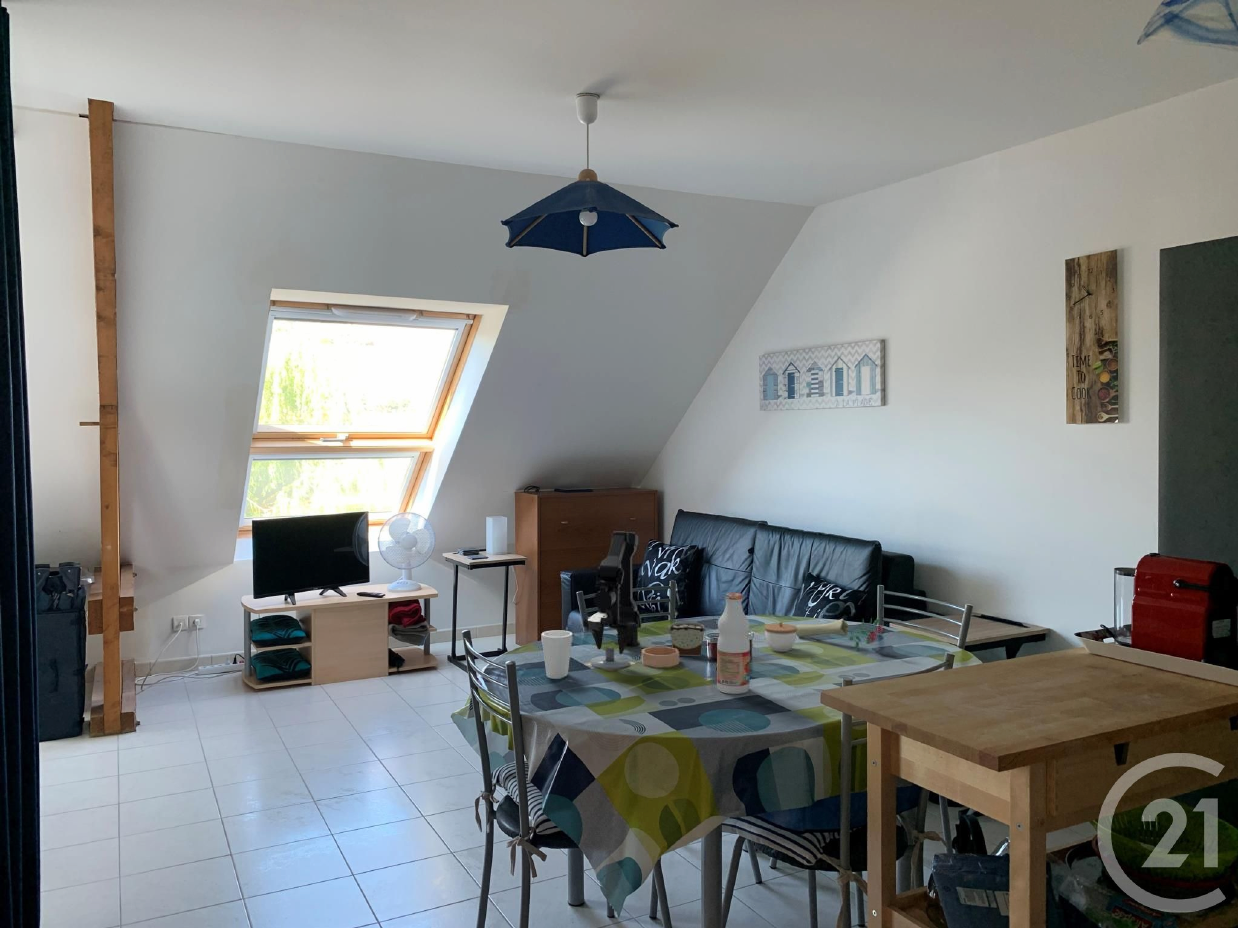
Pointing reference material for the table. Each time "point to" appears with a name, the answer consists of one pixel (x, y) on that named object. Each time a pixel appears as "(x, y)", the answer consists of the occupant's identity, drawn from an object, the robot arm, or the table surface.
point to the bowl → (660, 656)
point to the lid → (609, 660)
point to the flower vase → (837, 630)
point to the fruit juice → (733, 648)
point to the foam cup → (556, 652)
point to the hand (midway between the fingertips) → (610, 651)
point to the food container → (687, 638)
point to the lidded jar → (780, 636)
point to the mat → (610, 669)
